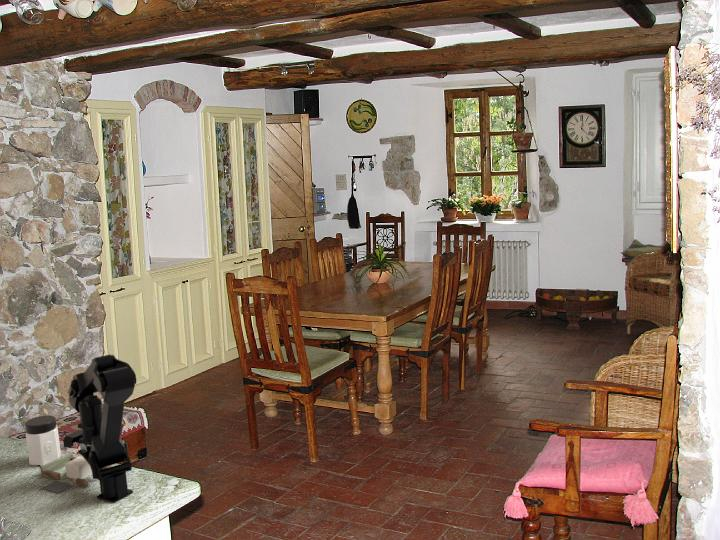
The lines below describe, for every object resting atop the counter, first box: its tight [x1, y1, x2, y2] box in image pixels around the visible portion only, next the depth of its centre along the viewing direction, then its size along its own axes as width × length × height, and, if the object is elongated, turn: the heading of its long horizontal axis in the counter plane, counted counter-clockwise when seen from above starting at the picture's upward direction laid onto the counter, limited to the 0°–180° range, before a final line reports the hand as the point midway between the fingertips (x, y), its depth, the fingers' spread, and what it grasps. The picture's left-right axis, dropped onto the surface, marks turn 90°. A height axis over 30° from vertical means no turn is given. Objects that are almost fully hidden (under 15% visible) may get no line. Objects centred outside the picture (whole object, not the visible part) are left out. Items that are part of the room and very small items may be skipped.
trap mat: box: [39, 479, 75, 495], centre depth 198 cm, size 7×5×1 cm
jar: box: [24, 415, 62, 467], centre depth 215 cm, size 9×8×12 cm
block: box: [65, 455, 92, 480], centre depth 204 cm, size 5×5×4 cm
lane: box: [40, 452, 113, 488], centre depth 205 cm, size 18×10×2 cm, turn 60°
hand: (98, 473), depth 201 cm, fingers closed
